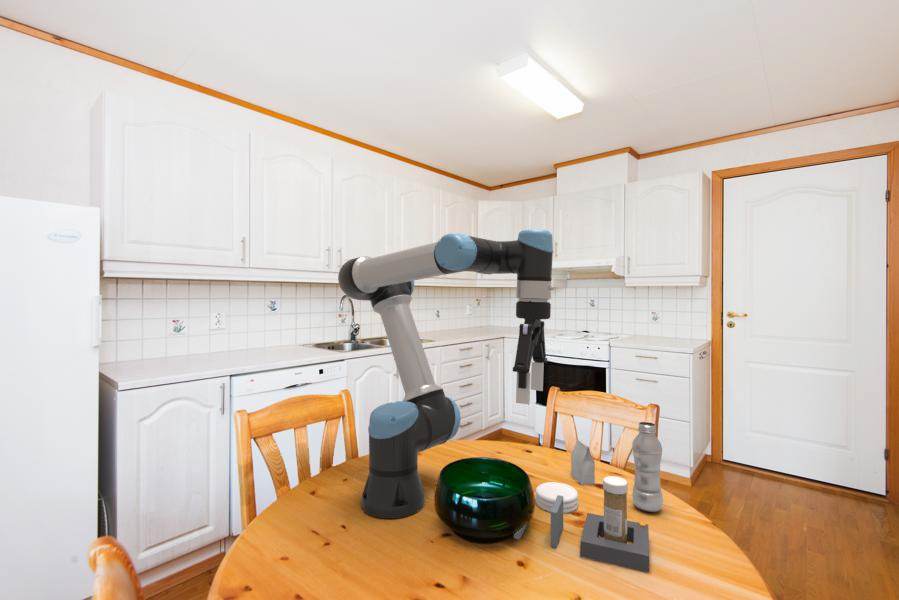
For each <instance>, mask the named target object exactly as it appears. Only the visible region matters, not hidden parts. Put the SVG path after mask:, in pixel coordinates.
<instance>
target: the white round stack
mask: <svg viewBox="0 0 899 600" xmlns="http://www.w3.org/2000/svg"><path fill="white" fill-rule="evenodd" d="M558 495H560V496H563V515H564V513H565V514H569V513H573V512H575V511H576V510H577V509H578V507H579V493H578V491H577V489H576V488H574V487H572V486H571V485H569V484H566V483H563V482H555V481H554V482H553V481H548V482H543V483H541V484H539V485H538V486H536V487H535V504H536V505H537V507H538V508H540V509H541V508H542V509H541V510H543V509H544V510H543V511H545V510H546V512H548V513H551V510H552V507H553V505H554V503H555V500H556V498H557V496H558Z"/></svg>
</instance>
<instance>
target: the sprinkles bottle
mask: <svg viewBox="0 0 899 600" xmlns="http://www.w3.org/2000/svg"><path fill="white" fill-rule="evenodd" d="M602 488H603V516H604V536H603V539H608V540H612V541H617V542H622V543H626V544H628V541H627V520H628V506H627V505H628V500H627V499H628V497H627V495H628V491H629V489H628V488H629V487H628V482H627V480H626V479H624V478H622V477H620V476H616V475H615V476H614V475H611V476H610V475H609V476H605V477H604V478H603V479H602Z"/></svg>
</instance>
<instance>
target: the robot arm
mask: <svg viewBox="0 0 899 600" xmlns="http://www.w3.org/2000/svg"><path fill="white" fill-rule="evenodd" d="M553 239H554V238H553V234H552V232H551V231H549V230H546V229H539V228H537V229H536V228H534V229H531V228H530V229H522V230H520V231H519V232H518V237H517V239H516V240H507V241H506V240H505V241H502V240H501V241H500V240H499V241H497V240H492V239H486V238H482V237H476V236H472V235H467V234H464V233H451V232H450V233H447V234H444V235H443V236H441V238H440V239H439V240H438V241H436V242H432V243H431V242H430V243H427V244H423V245H420V246H415V247H412V248H407V249H404V250H399V251H396V252H395V251H394V252H392V253H391V252H390V253H387V254H384V255H380V256H376V257H371V256H367V255H363V256H359V257H353V258H350V259H348V260H347V261H346V262H344V263H343V265H341V267H340V268H339V272H338V276H337V278H338V281H337V282H338V285H339V288H340V290H341V291H342V292H343V293H344V294H345V295H346V296H347V297H349V298H351V299H353V300H356V301H370V304H371V307H372V310H373V312H374V313H376V314H379V315H380V318H381V320H382V321H381V322H382V325H383V328H384V331H385V335H386V337H387V340H388V341H387V342H388V343H389V347H390V350H391V353H392V356H393V360H394V362H395V363H394V364H395V365H396V366H395V367H396V368H397V371H398V372H397V373H398V375H399V378H400V381H401V384H402V388H403V391H404V397H403V399H402V400H399V401H395V402H393V401H392V402H387V403H384V404H382V405H379V406H377V407H376V408H374V409H373V410H372V411H371V413H370V415H369V423H368V424H369V425H368V430H367V433H368V449H369V450H368V475H367V479H366V481H365V485H364V488H363V491H362V493H361V494H362V495H361V509H362V508H363V509H362V511H363V510H364V511H365V512H366V513H365V512H364V511H363V512H364V513H365V514H367V513H368V514H369V515H368V514H367V515H368V516H371V515H372V516H371V517H373V516H375V517H374V518H377V517H380V518H379V519H384V518H392V519H393V518H394V519H401V518H400V517H402V518H406V517H409V516H408V515H410V514H412V515H414V514H416V513H418V512H419V511H421V510H422V509H423V508H422V507H424V506H425V504H424V503H426V501H425V500H426V494H425V489H424V487H423V486H424V485H423V483H422V480H421V477H420V473H419V470H418V466H419V465H418V464H419V463H418V456H419V455H418V454H419V453H421V452H424V451H426V450H429V449H431V448H434V447H437V446H440V445H443V444H445V443H446V442H448V441H450V440H452V439H453V438H454V437H455V436H456V435H457V433H458V431H459V429H460V426H461V420H462V419H461V418H462V417H461V411H460V408H459V406H458V404H457V402H456V401H455V400H452V398H451V397H448V396H446V394H445V392H444V388H443V387H442V386H439V385H438V384H436V382H435V380H434V376H433V373H432V370H431V367H430V364H429V362H428V358H427V355H426V352H425V348H424V346H423V343H422V341H421V338H420V335H419V332H418V329H417V326H416V325H417V324H416V323H415V320H414V317H413V314H412V311H411V307H410V303H411V301H412V300H413V297H412V294H413V292H414V290H415V288H414V286H415V281H419V280H423V279H429V278H434V277H439V276H445V275H449V274H450V275H451V274H458V273H462V272H463V273H464V272H472V273H473V272H474V273H478V274H483V275H494V274H495V275H496V274H497V275H498V274H499V275H502V274H503V275H504V274H513V275H516V293H515V294H516V295H515V296H516V299H518V300H517V301H516V303H515V317H516V318H518V319H523V320H524V322H523V323H520V324H519V326H518V327H519V330H518V331H519V332H518V341H517V346H516V352H515V353H516V354H515V360H514V366H512V372H513V373H514V372H515V373H516V384H515V385H516V386H515V387H516V389H515V390H516V392H515V403H516V404H521V405H522V404H523V405H530V403H531V396H530V395H531V391H539V392H543V391H544V366H545V365H544V363H548V357H547V354H546V341H545V340H546V338H545V321H544V320H549V319H550V318H551V311H552V310H551V308H552V304H551V303H550V302H549V301H548V300H551V299H552V291H554V290H555V286H553V285H552V274H553V273H552V271H553V269H552V268H553V254H554V249H553V248H554V246H553V245H554V244H553V241H554V240H553ZM530 369H531V371H530ZM423 505H424V506H423ZM421 508H422V509H421ZM420 509H421V510H420ZM418 510H419V511H418ZM417 511H418V512H417ZM415 512H416V513H415ZM413 513H414V514H413ZM405 516H406V517H405ZM410 516H411V515H410ZM392 519H391V520H392Z"/></svg>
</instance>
